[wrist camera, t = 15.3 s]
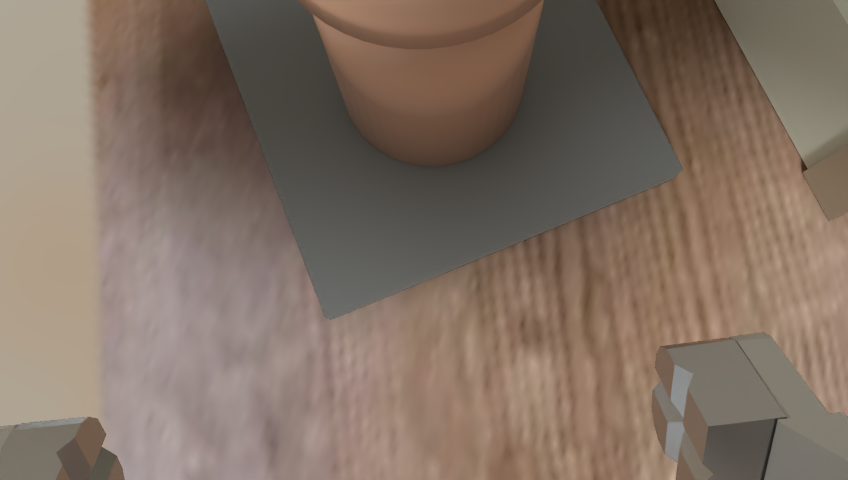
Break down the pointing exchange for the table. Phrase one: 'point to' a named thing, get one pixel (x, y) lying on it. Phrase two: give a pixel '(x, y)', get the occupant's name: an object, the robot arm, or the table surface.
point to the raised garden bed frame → (803, 81)
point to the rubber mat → (438, 185)
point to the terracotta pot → (429, 71)
